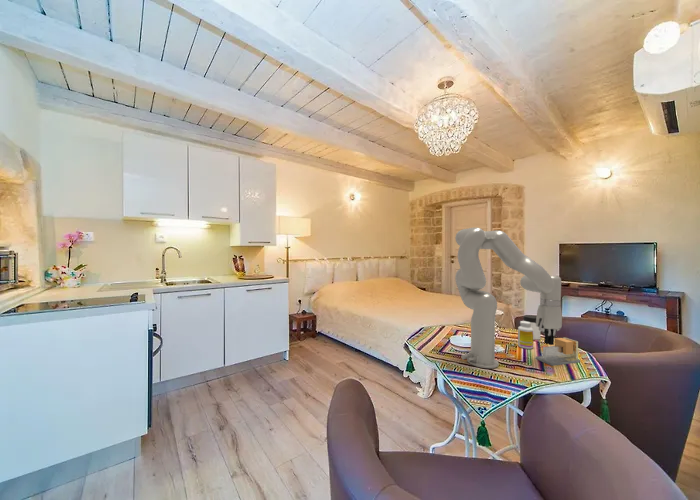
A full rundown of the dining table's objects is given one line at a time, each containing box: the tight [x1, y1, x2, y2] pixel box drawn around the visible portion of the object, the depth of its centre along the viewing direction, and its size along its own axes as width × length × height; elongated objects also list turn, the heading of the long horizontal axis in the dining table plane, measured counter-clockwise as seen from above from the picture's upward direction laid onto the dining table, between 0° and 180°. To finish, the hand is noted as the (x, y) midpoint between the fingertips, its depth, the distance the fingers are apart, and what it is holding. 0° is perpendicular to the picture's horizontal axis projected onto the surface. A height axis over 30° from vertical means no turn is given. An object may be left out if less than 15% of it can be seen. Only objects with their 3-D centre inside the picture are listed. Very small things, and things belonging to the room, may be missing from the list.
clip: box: [554, 337, 573, 355], centre depth 129 cm, size 4×5×6 cm
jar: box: [522, 314, 542, 341], centre depth 162 cm, size 9×8×12 cm
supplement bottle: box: [517, 320, 534, 350], centre depth 146 cm, size 7×7×13 cm
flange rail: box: [535, 337, 581, 367], centre depth 128 cm, size 16×8×9 cm, turn 105°
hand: (548, 343), depth 127 cm, fingers closed
